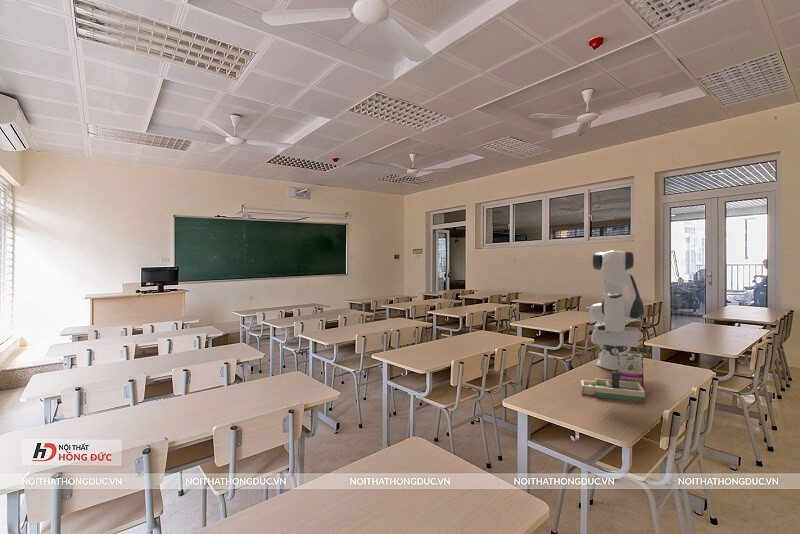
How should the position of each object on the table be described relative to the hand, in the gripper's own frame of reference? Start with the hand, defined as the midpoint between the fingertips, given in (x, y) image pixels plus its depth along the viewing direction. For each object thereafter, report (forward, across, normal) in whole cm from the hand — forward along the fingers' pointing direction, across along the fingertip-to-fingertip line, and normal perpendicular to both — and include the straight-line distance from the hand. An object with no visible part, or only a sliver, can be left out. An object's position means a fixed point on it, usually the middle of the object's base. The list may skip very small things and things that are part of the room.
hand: (614, 354), depth 179 cm
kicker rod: (+17, +1, 0) cm, 17 cm away
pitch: (+20, +2, 0) cm, 20 cm away
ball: (+18, +11, 0) cm, 21 cm away
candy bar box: (+20, -9, -17) cm, 28 cm away
